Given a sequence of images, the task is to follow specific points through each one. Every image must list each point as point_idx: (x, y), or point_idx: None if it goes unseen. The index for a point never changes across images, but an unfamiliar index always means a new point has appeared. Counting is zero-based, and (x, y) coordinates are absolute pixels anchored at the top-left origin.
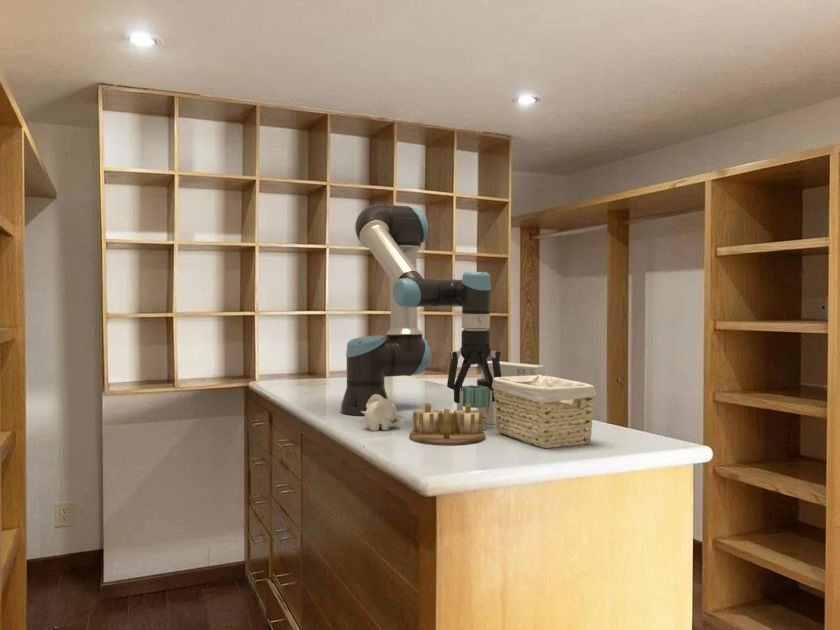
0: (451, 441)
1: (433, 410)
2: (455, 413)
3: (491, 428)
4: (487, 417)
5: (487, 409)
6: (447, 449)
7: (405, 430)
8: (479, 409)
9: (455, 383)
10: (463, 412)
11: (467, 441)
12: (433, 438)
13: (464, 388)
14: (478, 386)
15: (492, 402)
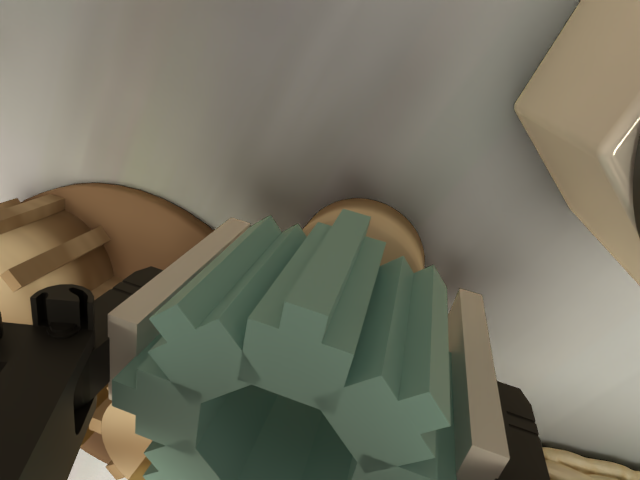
0: (94, 455)
1: (1, 299)
2: (97, 429)
3: (454, 297)
4: (559, 179)
5: (448, 336)
6: (76, 470)
7: (2, 89)
8: (536, 125)
9: (11, 377)
10: (140, 446)
11: None
12: None
13: (138, 422)
14: (354, 441)
15: (628, 271)
